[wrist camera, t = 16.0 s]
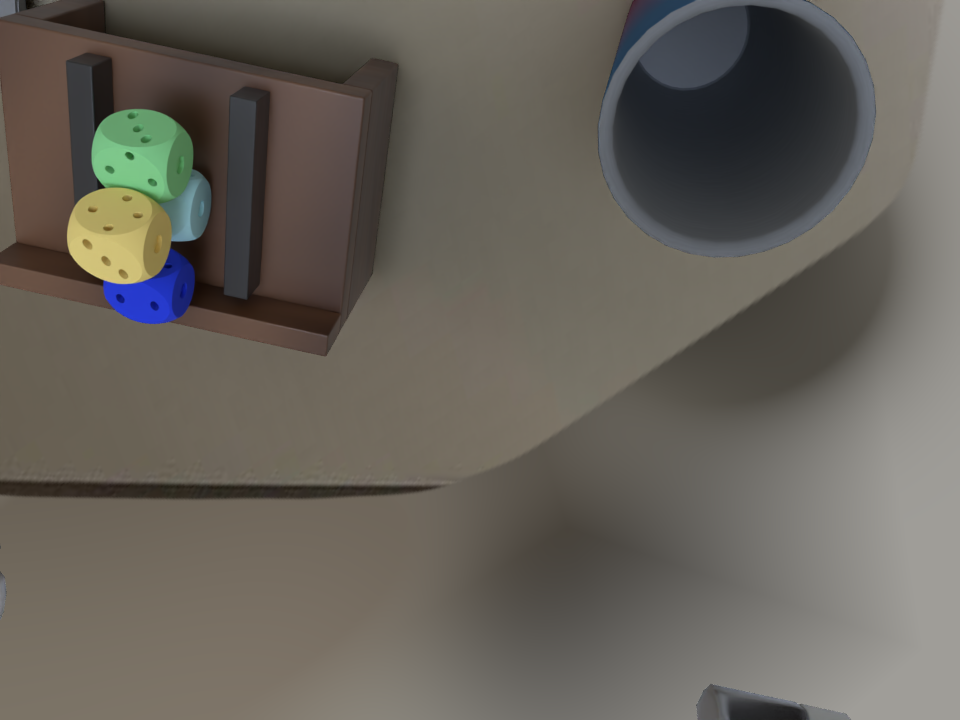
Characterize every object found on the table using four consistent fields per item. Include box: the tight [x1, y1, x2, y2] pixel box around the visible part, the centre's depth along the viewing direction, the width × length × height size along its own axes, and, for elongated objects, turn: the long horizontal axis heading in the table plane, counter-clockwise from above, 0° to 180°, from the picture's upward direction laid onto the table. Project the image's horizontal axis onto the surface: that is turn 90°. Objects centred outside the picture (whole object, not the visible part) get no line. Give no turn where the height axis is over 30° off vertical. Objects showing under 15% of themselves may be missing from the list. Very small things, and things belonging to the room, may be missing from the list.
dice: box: [67, 109, 211, 324], centre depth 32 cm, size 8×3×6 cm, turn 170°
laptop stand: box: [0, 0, 398, 356], centre depth 37 cm, size 14×10×8 cm
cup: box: [598, 0, 876, 257], centre depth 29 cm, size 7×7×15 cm
